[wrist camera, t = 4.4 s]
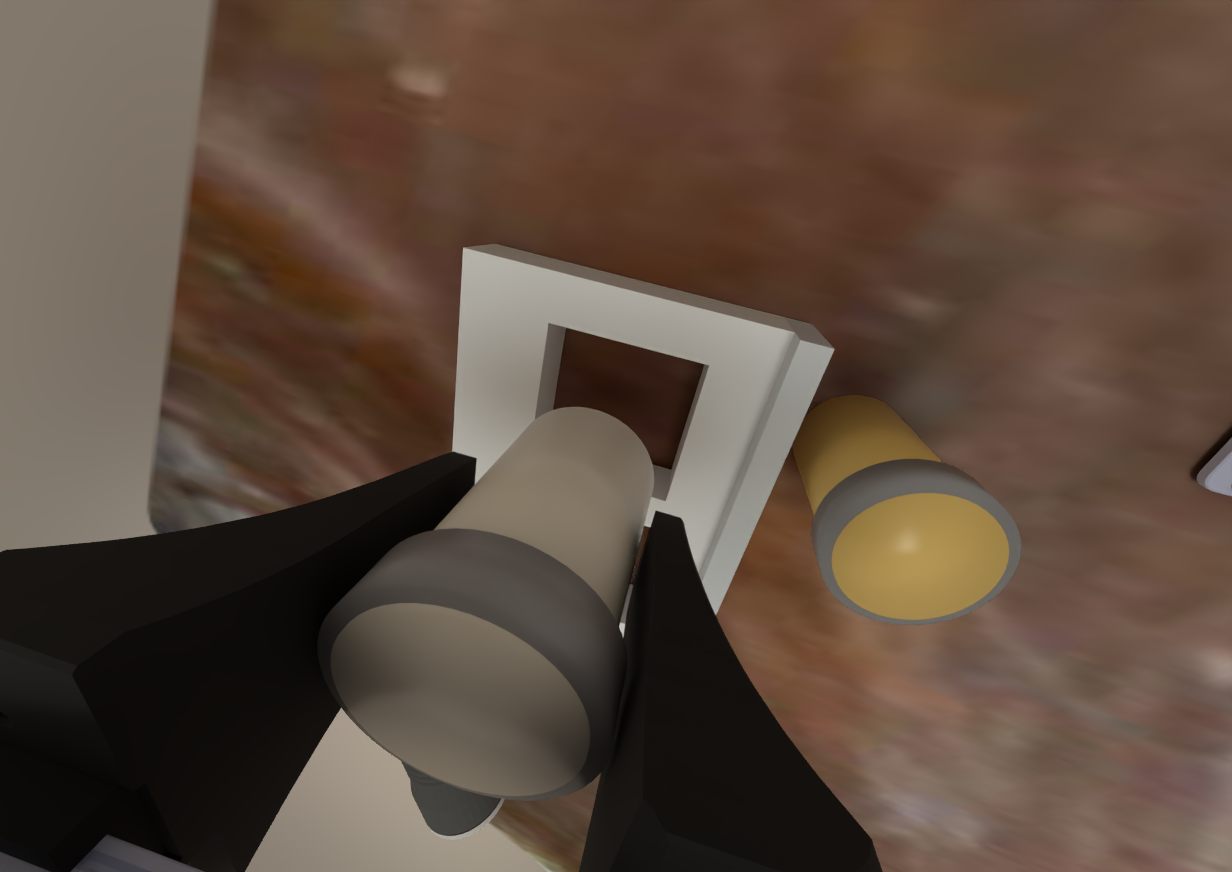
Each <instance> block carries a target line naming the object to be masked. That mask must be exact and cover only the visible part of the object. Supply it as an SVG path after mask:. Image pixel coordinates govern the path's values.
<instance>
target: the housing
mask: <svg viewBox="0 0 1232 872" xmlns="http://www.w3.org/2000/svg"><path fill="white" fill-rule="evenodd" d="M566 328H570V329H573V330H577V331H581V332H585V333H589V334H592V335H596V336H600V337H604V338H607V339H611V340H615V341H619V342H623V343H626V344H630V345H634V346H638V347H641V348H645V349H649V350H653V351H656V352H660V353H664V354H668V355H672V356H675V357H679V358H683V359H687V360H690V361H694V362H698V363H702V364H704V367H703V370H702V373H701V377H700V380H699V383H698V386H697V389H696V392H695V396H694V399H693V402H692V405H691V408H690V411H689V415H688V418H687V421H686V424H685V427H684V430H683V434H682V437H681V440H680V443H679V446H678V449H677V453H676V456H675V459H674V462H673V465H672V469H671V470H670V469H667V468H663V467H660V466H656V465H653V464H652V465H653V470H654V487H653V492H652V496H651V500H650V504H649V508H648V512H647V516H646V520H645V524H644V526H647V527H651V524H652V521H653V517H654V514H655V511H660V512H663V513H666V514H670V515H673V516H677V517H680V518H681V519H682V520H683V522H684V526H685V530H686V535H687V539H688V542H689V546H690V549H691V552H692V556H693V559H694V562H695V565H696V568H697V571H698V573H699V576H700V579H701V581H702V584H703V587H704V589H705V592H706V594H707V597H708V599H709V601H710V604H711V606H712V608H713V611H714V613H715V615H716V614H717V612H718V610H719V607H720V605H721V603H722V601H723V598H724V596H725V594H726V592H727V589H728V587H729V585H730V583H731V580H732V578H733V576H734V574H735V571H736V569H737V567H738V565H739V563H740V560H741V558H742V556H743V554H744V551H745V549H746V547H747V545H748V542H749V540H750V538H751V536H752V533H753V531H754V529H755V527H756V524H757V522H758V520H759V518H760V515H761V513H762V511H763V509H764V506H765V504H766V502H767V500H768V498H769V495H770V493H771V491H772V489H773V486H774V484H775V482H776V480H777V477H778V475H779V473H780V471H781V468H782V466H783V464H784V462H785V459H786V457H787V455H788V453H789V450H790V448H791V446H792V444H793V441H794V439H795V437H796V435H797V433H798V430H799V428H800V426H801V424H802V421H803V419H804V417H805V415H806V412H807V410H808V408H809V406H810V403H811V401H812V399H813V397H814V394H815V392H816V390H817V388H818V385H819V383H820V381H821V379H822V376H823V374H824V372H825V370H826V368H827V365H828V363H829V361H830V359H831V356H832V354H833V352H834V350H835V349H834V348H833V347H832V345H831V344H830V343H829V342H828V341H827V340H826V339H825V338H824V337H823V336H822V335H821V333H820V332H819V331H818V330H817V329H816V328H815V327H814V326H813V325H812V324H810V323H806V322H802V321H798V320H794V319H790V318H786V317H782V316H778V315H774V314H770V313H766V312H762V311H758V310H754V309H751V308H747V307H743V306H739V305H735V304H731V303H727V302H723V301H719V300H715V299H711V298H707V297H703V296H699V295H695V294H691V293H687V292H684V291H680V290H676V289H672V288H668V287H664V286H660V285H656V284H652V283H648V282H644V281H640V280H636V279H632V278H628V277H624V276H620V275H617V274H613V273H609V272H605V271H601V270H597V269H593V268H589V267H585V266H581V265H577V264H573V263H569V262H565V261H561V260H557V259H553V258H550V257H546V256H542V255H538V254H534V253H530V252H526V251H522V250H518V249H514V248H510V247H506V246H502V245H498V244H489V245H481V246H473V247H464V248H463V261H462V280H461V299H460V318H459V336H458V355H457V374H456V393H455V412H454V430H453V449H452V452H453V451H454V452H457V453H461V454H464V455H468V456H471V457H474V458H477V462H476V474H475V484H476V483H477V482H478V481H479V480H480V478H481V477H482V476H483V475H484V474H485V473H486V472H487V471H488V470H489V469H490V467H491V466H492V465H493V464H494V463H495V462H496V461H497V460H498V459H499V458H500V457H501V455H502V454H503V453H504V452H505V451H506V450H507V449H508V448H509V447H510V446H511V444H512V443H513V442H514V441H515V440H516V439H517V438H518V437H519V436H520V435H521V434H522V432H523V431H524V430H525V429H526V428H527V427H528V426H529V425H530V424H531V423H532V422H533V421H534V420H535V419H537V418H538V417H540V416H541V415H543V414H545V413H547V412H550V411H552V410H553V406H554V399H555V393H556V387H557V381H558V375H559V369H560V363H561V356H562V350H563V344H564V338H565V332H566ZM632 588H633V585H632V584H630V585H629V589H628V593H627V597H626V601H625V605H624V609H623V613H622V617H621V621H620V625H619V628H620V631H621V633H622V636H623V637H624V629H625V621H626V614H627V609H628V605H629V600H630V596H631V592H632Z"/></svg>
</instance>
